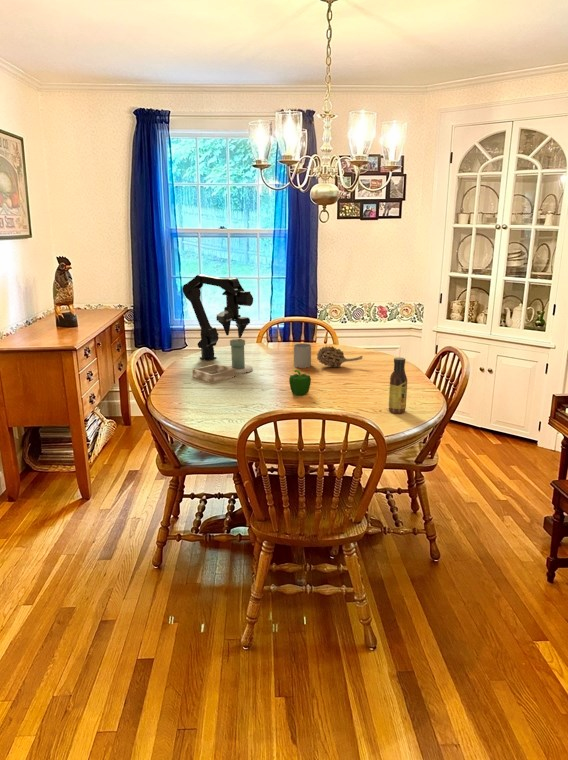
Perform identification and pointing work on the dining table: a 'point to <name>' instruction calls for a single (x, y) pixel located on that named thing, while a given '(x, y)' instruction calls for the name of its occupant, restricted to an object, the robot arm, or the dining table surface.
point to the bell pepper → (300, 383)
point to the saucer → (246, 369)
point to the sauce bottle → (398, 387)
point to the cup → (302, 355)
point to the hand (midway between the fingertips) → (233, 336)
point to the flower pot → (237, 353)
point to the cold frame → (204, 374)
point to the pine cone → (333, 357)
